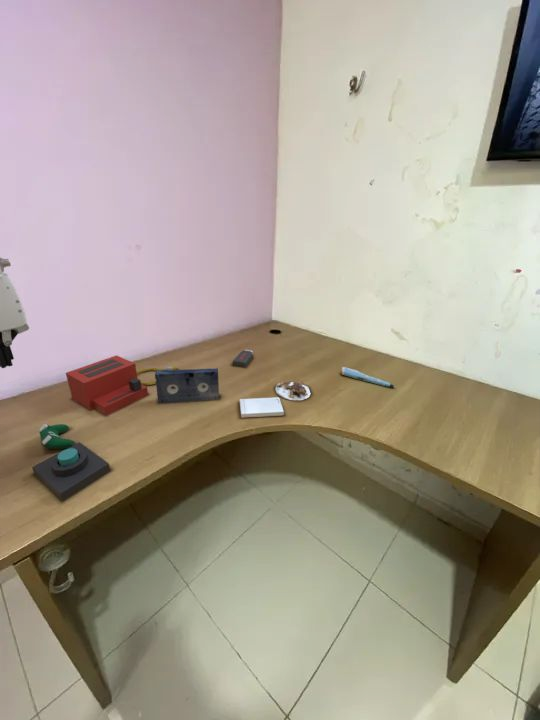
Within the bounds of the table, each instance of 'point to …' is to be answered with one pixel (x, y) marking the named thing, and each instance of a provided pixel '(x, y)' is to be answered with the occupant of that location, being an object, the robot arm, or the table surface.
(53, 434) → the green piece
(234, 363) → the usb drive
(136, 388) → the toaster slider
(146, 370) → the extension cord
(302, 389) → the plate of food
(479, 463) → the table surface
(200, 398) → the vhs cassette tape
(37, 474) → the control block
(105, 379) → the toaster
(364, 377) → the light blue tapered rod
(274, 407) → the hard drive
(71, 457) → the button
